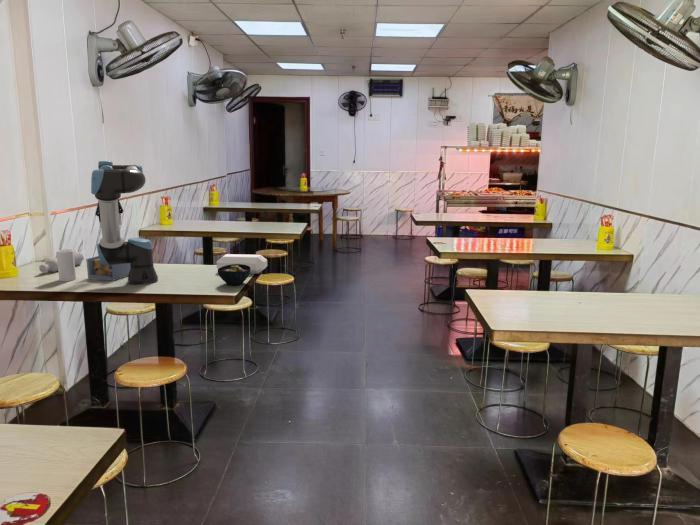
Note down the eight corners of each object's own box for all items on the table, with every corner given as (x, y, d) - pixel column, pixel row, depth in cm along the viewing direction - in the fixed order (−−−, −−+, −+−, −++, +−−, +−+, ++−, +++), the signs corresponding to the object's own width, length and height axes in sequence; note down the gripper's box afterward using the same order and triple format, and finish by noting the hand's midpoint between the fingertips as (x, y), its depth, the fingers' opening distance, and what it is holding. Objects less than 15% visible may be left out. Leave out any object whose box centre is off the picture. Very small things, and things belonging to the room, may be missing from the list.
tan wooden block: (118, 277, 301) (116, 259, 299) (112, 279, 296) (110, 261, 294) (99, 276, 304) (98, 258, 302) (93, 278, 299) (92, 260, 297)
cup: (79, 277, 299) (76, 249, 296) (70, 281, 291) (67, 252, 288) (65, 277, 300) (62, 249, 296) (56, 281, 292) (52, 251, 288)
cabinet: (86, 279, 296) (84, 259, 294) (110, 271, 315) (108, 252, 313) (111, 281, 292) (109, 261, 290) (134, 273, 311) (133, 254, 308)
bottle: (69, 258, 335) (33, 270, 307) (75, 246, 333) (39, 257, 304) (81, 266, 335) (46, 279, 307) (87, 255, 332) (52, 267, 304)
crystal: (222, 252, 322) (268, 253, 320) (222, 268, 324) (268, 269, 322) (214, 257, 308) (262, 258, 306) (215, 274, 310) (263, 275, 308)
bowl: (213, 287, 280) (212, 268, 278) (225, 279, 297) (224, 261, 295) (245, 288, 278) (244, 269, 276) (255, 280, 294) (254, 262, 292)
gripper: (117, 187, 317) (120, 223, 321) (86, 190, 293) (89, 228, 298) (127, 187, 315) (130, 223, 319) (97, 190, 291) (101, 229, 296)
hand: (111, 226), depth 308 cm, fingers open, 13 cm apart
